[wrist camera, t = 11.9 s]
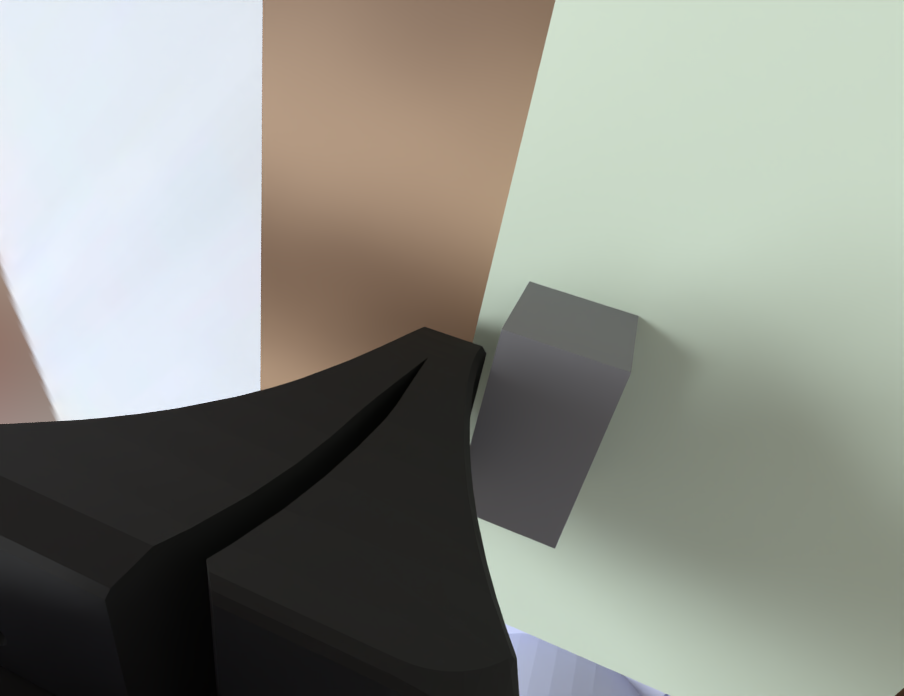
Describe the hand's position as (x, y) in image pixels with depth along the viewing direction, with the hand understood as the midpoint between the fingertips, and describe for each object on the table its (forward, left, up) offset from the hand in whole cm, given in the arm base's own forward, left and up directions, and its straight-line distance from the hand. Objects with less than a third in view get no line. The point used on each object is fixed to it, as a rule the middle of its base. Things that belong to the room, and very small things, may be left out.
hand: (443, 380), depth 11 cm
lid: (0, -5, -2) cm, 6 cm away
